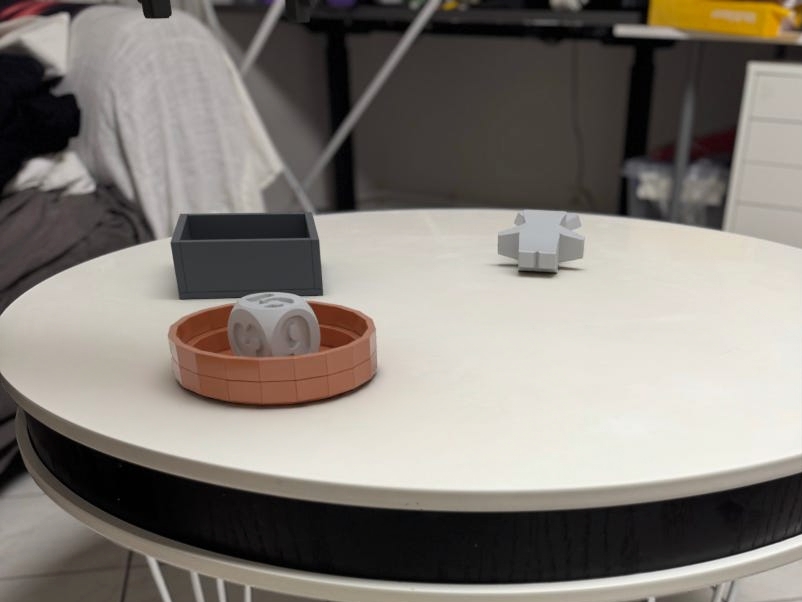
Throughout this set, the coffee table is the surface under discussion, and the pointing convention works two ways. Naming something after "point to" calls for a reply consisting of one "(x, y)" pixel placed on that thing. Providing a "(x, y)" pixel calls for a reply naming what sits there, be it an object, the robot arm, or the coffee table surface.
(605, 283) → the coffee table surface
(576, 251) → the grey angular piece
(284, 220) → the bin
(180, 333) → the bowl
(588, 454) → the coffee table surface
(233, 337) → the die
